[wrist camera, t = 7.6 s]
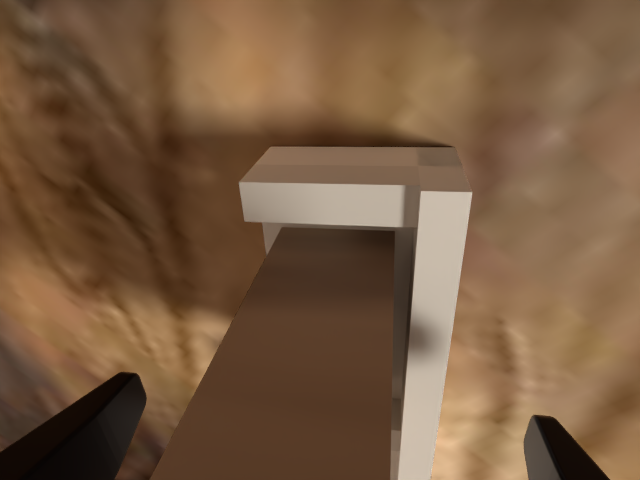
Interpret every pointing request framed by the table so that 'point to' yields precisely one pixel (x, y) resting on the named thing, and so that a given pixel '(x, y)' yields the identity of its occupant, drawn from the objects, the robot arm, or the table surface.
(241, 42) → the table surface
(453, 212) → the white tray base
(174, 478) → the tall taupe pillar block
